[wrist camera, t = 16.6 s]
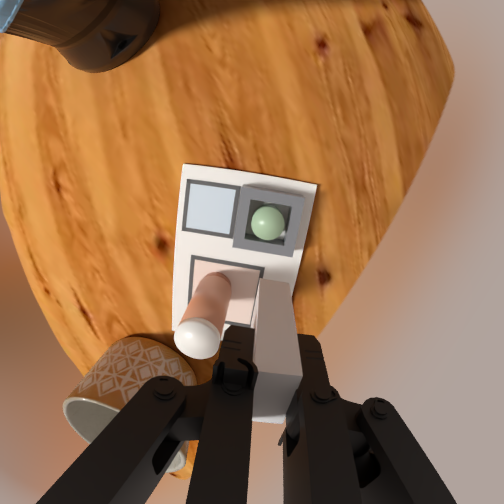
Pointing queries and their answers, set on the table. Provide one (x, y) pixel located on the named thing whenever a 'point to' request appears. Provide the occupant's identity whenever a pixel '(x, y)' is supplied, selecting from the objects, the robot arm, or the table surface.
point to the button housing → (292, 225)
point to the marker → (204, 317)
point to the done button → (267, 222)
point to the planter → (123, 386)
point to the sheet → (229, 238)
